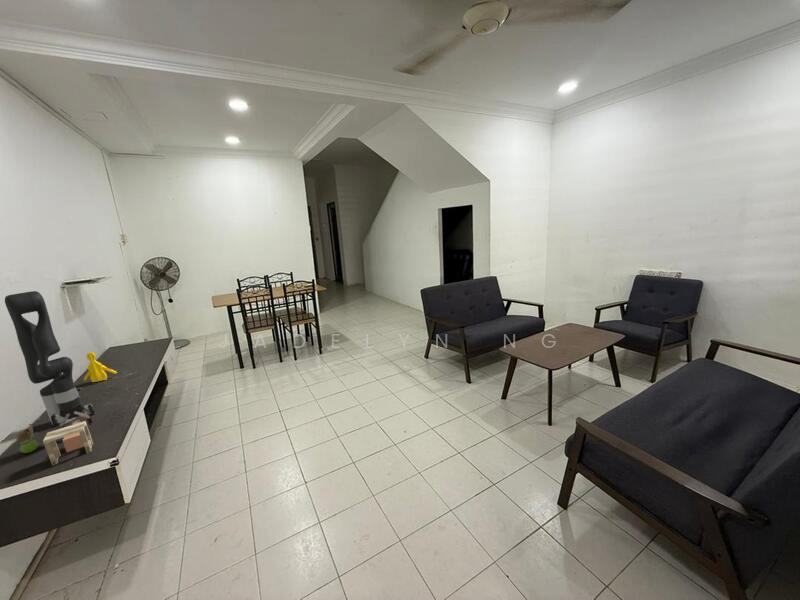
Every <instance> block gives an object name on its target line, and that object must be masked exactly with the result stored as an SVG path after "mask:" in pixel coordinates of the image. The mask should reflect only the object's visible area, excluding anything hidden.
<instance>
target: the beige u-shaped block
mask: <svg viewBox="0 0 800 600" xmlns="http://www.w3.org/2000/svg"><path fill="white" fill-rule="evenodd" d="M78 432H79V433H80V435H81V438H82V441H83V444H84V446H83V447H84V449H85V452H86V454H89V453H91V452H92V450H93V449H92V447H93V445H94V442H93V437H92V435H91V432H90V430H89V427H88V424H87V421H86V420H83V421H80V423H77V424H74V425H72V424H70V425H68V426H66V427H64V428H58V429H55V430H51V431H48V432H47V433H46V434H45V436H44V438H43V440H42V442H43V443H42V444H43V445H44V448H45V450H46V452H47V456H48V458H49V460H50V464H51V465H52V466H55V465H57V464H58V462H59V458H60V457H61V455H62V454H61V452H60V448H59V447H58V444H57V441H56V440H59V439H62V438H64V437H66V436H69V435H72V434H75V433H78Z"/></svg>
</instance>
